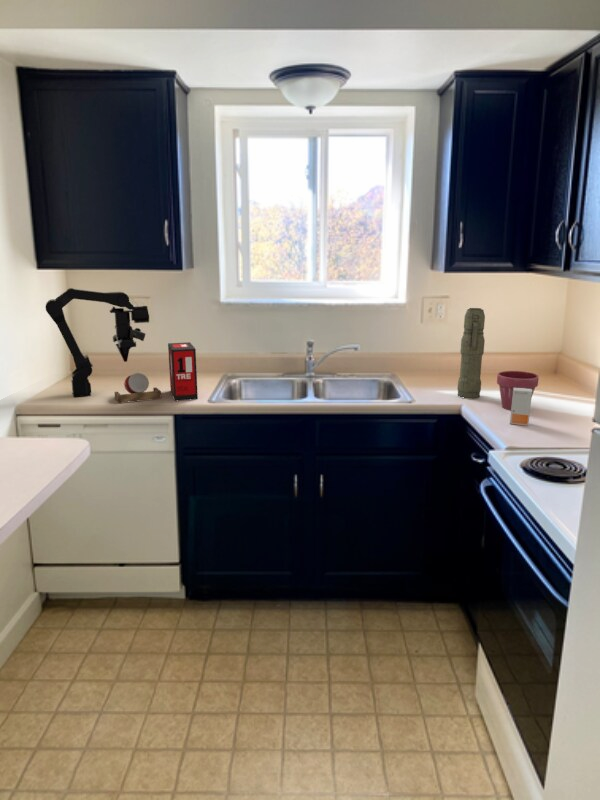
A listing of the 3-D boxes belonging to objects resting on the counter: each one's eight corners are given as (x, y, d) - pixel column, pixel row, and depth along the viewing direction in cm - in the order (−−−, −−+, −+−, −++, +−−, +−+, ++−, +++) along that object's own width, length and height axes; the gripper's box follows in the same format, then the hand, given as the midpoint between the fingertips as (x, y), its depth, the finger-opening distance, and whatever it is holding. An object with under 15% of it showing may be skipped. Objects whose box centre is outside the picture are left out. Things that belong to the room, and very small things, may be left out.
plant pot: (486, 406, 217) (489, 373, 214) (509, 401, 225) (512, 368, 222) (520, 415, 206) (523, 380, 203) (543, 409, 214) (546, 375, 210)
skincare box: (509, 424, 195) (512, 389, 192) (509, 420, 199) (513, 387, 196) (528, 426, 193) (532, 391, 190) (528, 422, 197) (532, 388, 194)
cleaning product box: (197, 399, 228) (195, 348, 222) (174, 400, 225) (172, 350, 220) (192, 389, 243) (190, 342, 238) (170, 391, 240) (168, 343, 235)
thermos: (460, 399, 227) (467, 310, 218) (454, 392, 238) (460, 307, 229) (483, 400, 226) (491, 310, 217) (476, 392, 238) (483, 307, 229)
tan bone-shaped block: (118, 403, 221) (117, 395, 220) (115, 399, 227) (114, 391, 226) (161, 398, 228) (160, 391, 227) (156, 394, 234) (156, 387, 233)
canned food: (135, 398, 234) (141, 396, 225) (119, 385, 232) (124, 383, 222) (147, 383, 237) (153, 381, 227) (131, 371, 234) (136, 368, 224)
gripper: (148, 325, 228) (150, 364, 232) (138, 320, 245) (140, 356, 249) (119, 326, 224) (121, 366, 228) (111, 321, 240) (114, 358, 244)
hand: (125, 361), depth 237 cm, fingers closed
